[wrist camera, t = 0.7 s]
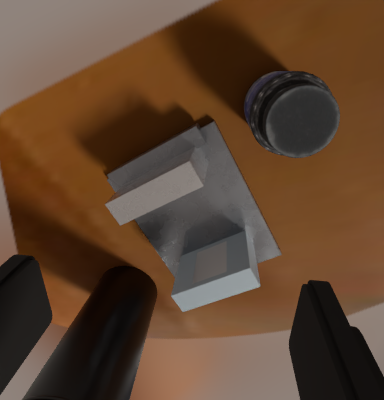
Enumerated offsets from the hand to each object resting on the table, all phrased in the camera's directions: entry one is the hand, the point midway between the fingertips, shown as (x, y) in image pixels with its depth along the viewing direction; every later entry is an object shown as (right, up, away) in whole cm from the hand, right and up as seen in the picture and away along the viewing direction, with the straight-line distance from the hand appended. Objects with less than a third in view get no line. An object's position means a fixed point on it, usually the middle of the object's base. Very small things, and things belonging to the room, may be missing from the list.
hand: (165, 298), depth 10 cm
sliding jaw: (+4, -3, +25) cm, 25 cm away
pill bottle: (+9, +13, +18) cm, 24 cm away
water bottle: (-8, -9, +31) cm, 33 cm away
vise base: (+1, +2, +24) cm, 24 cm away
